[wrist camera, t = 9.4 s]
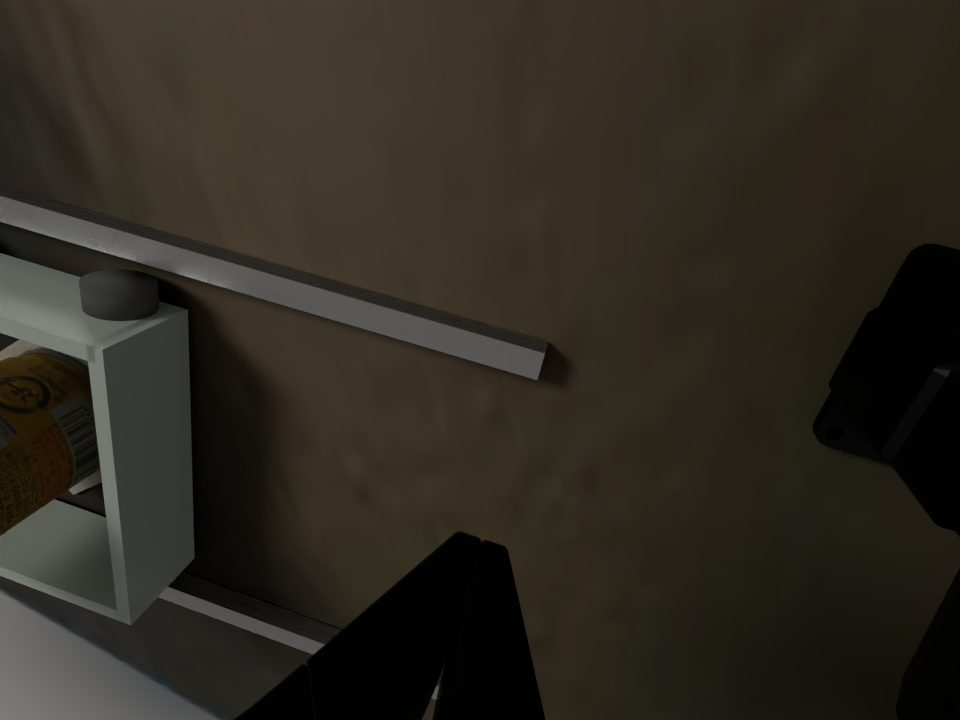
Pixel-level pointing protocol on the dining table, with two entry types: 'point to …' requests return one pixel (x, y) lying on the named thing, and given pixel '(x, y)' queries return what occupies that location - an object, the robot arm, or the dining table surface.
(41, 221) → the rails
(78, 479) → the condiment
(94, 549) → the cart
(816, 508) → the dining table surface
